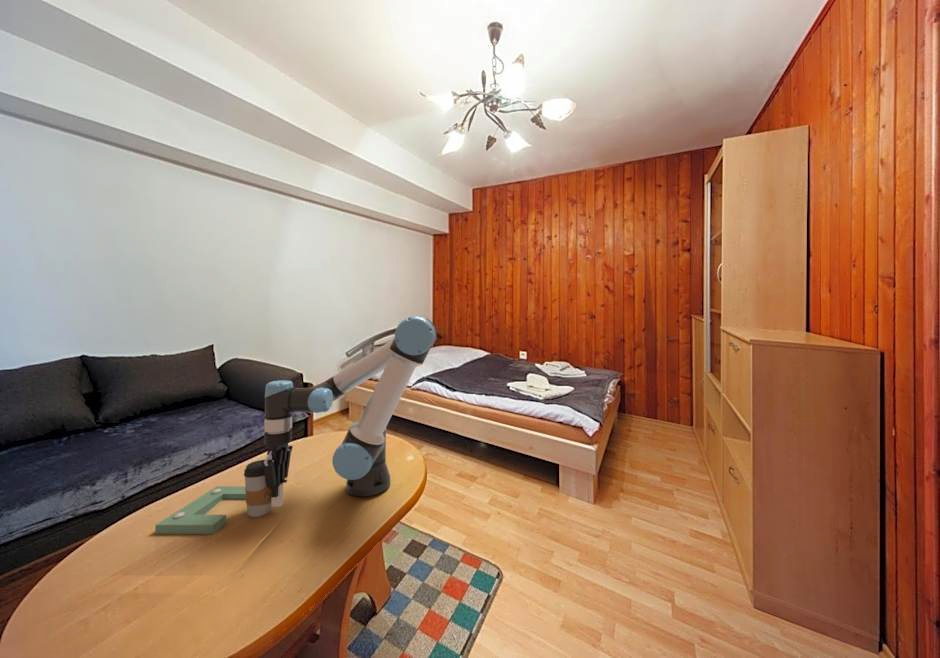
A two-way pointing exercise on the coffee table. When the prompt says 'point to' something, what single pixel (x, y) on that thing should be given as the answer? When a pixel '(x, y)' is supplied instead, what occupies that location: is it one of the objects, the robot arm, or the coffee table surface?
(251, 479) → the coffee cup
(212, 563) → the coffee table surface
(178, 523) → the mint green u-shaped piece
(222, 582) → the coffee table surface
